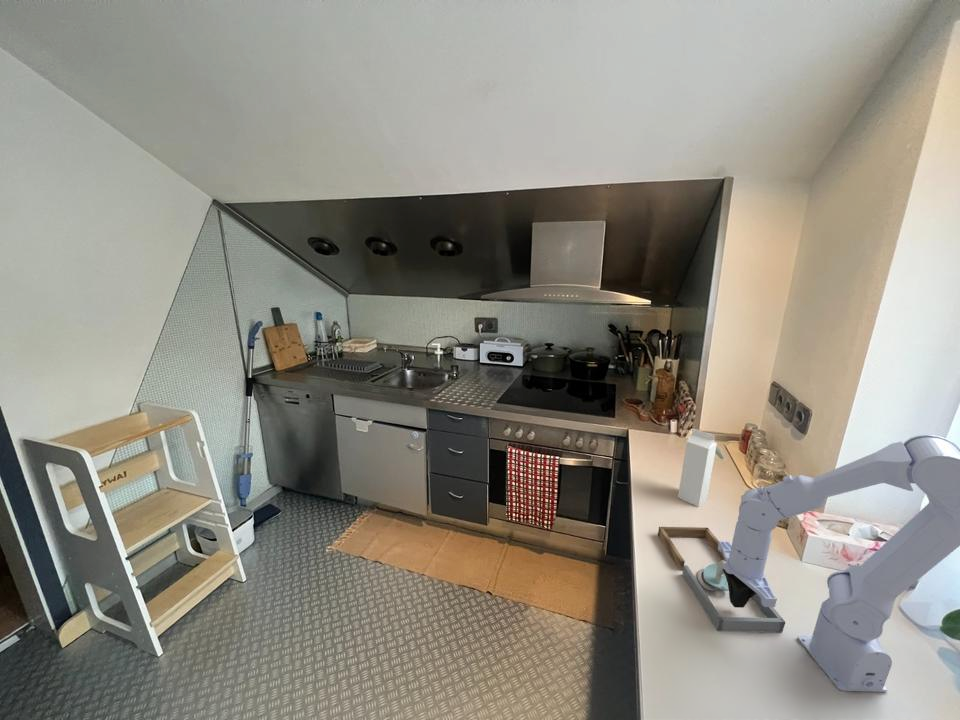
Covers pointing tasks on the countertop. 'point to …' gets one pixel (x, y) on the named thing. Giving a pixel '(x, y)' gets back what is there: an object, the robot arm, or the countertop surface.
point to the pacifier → (713, 577)
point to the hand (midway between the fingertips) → (736, 604)
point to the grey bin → (735, 623)
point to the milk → (697, 467)
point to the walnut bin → (686, 533)
